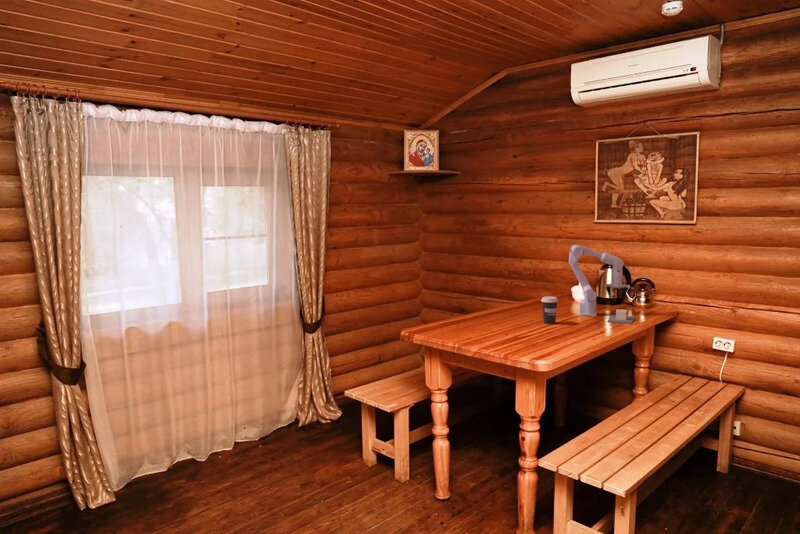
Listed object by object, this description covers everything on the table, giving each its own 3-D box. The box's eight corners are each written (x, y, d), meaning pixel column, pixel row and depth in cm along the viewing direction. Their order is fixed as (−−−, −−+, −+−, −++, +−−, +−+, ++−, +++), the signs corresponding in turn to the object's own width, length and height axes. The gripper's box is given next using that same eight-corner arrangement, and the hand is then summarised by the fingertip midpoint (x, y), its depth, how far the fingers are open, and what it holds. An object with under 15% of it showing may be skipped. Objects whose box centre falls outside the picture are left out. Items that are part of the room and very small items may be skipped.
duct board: (607, 322, 331) (607, 314, 331) (611, 316, 347) (611, 309, 347) (631, 323, 326) (632, 316, 325) (634, 317, 342) (634, 310, 341)
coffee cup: (539, 324, 330) (539, 298, 328) (543, 320, 339) (543, 295, 337) (555, 325, 326) (556, 299, 324) (559, 322, 334) (559, 296, 332)
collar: (615, 319, 335) (615, 311, 334) (616, 317, 340) (616, 309, 339) (626, 320, 333) (626, 311, 332) (626, 318, 338) (626, 309, 337)
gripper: (603, 277, 348) (603, 300, 349) (629, 278, 341) (628, 301, 343) (605, 276, 354) (604, 298, 355) (630, 277, 347) (629, 299, 349)
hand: (616, 299), depth 350 cm, fingers open, 7 cm apart
